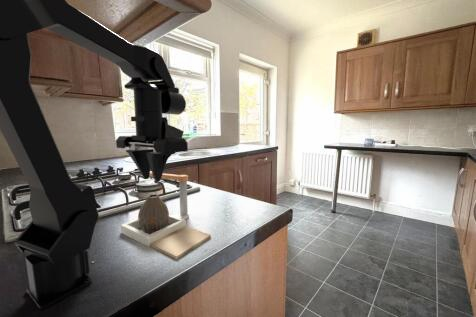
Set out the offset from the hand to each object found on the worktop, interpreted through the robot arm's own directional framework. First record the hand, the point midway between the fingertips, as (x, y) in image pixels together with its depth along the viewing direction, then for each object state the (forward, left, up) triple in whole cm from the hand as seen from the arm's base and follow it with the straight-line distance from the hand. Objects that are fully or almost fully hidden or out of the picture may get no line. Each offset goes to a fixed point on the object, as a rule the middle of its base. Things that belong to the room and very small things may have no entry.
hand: (152, 180), depth 51 cm
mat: (0, -9, -12) cm, 15 cm away
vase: (0, 0, -13) cm, 13 cm away
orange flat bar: (+8, +6, -2) cm, 11 cm away
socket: (+3, 0, -13) cm, 13 cm away
